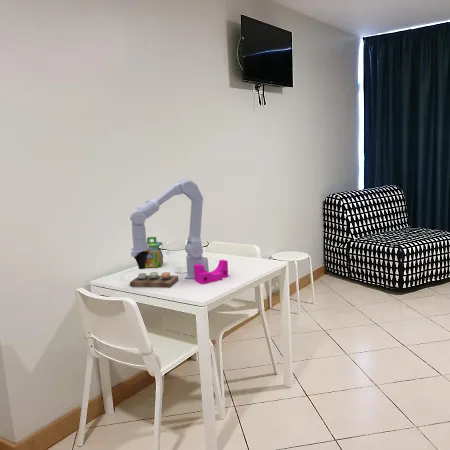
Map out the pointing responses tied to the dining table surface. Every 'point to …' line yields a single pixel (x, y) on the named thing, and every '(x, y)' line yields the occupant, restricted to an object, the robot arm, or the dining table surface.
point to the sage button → (153, 274)
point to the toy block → (211, 273)
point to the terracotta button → (165, 275)
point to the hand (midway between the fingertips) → (141, 268)
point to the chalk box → (154, 254)
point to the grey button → (142, 276)
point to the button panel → (154, 282)
